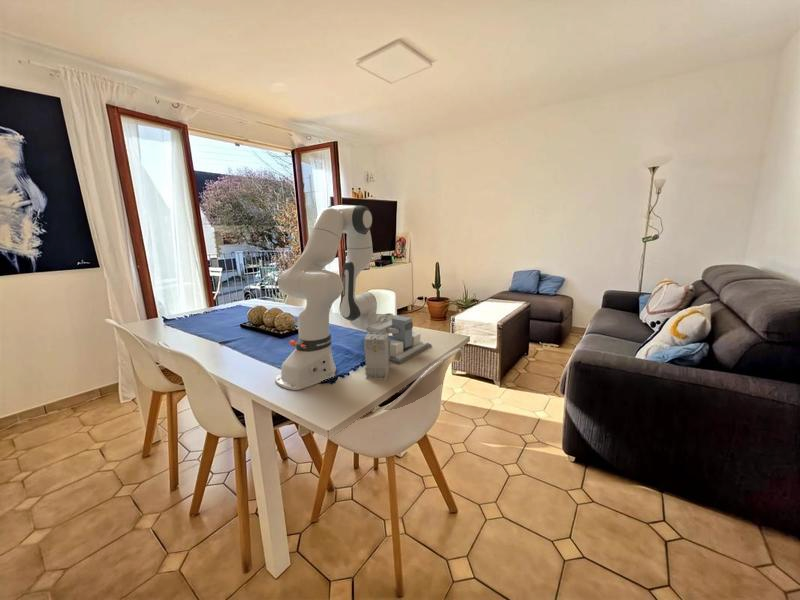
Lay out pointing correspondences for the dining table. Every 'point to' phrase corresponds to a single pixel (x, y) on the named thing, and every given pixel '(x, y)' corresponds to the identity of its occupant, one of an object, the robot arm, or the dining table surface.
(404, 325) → the block
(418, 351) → the rail plate
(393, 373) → the dining table surface
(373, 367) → the circuit breaker
